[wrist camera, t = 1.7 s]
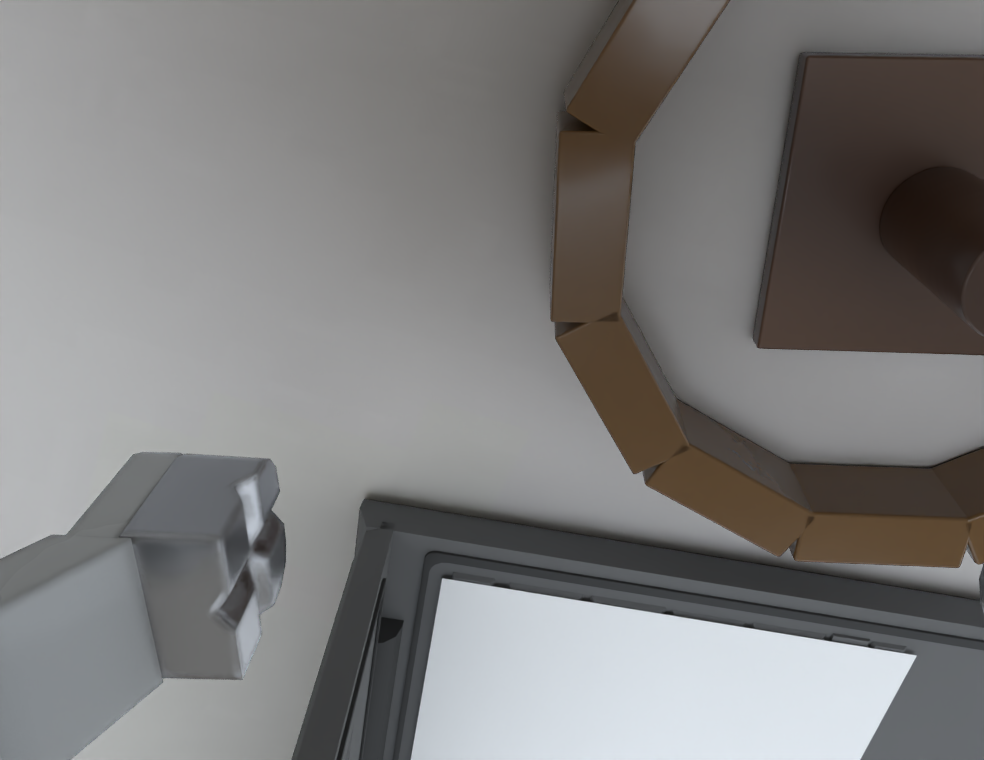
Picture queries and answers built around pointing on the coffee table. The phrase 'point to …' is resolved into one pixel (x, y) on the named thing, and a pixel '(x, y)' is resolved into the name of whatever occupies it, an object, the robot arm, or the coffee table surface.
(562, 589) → the laptop
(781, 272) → the stand
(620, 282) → the hoop
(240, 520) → the robot arm
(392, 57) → the coffee table surface
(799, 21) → the coffee table surface
